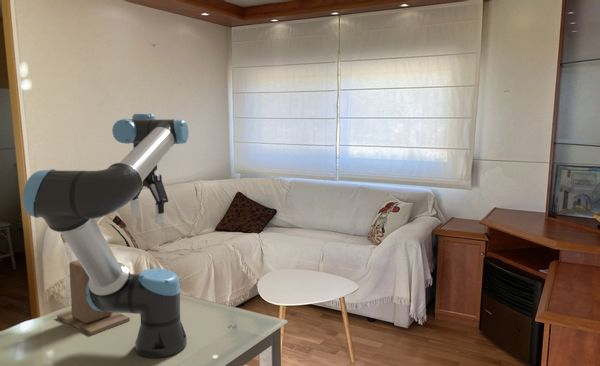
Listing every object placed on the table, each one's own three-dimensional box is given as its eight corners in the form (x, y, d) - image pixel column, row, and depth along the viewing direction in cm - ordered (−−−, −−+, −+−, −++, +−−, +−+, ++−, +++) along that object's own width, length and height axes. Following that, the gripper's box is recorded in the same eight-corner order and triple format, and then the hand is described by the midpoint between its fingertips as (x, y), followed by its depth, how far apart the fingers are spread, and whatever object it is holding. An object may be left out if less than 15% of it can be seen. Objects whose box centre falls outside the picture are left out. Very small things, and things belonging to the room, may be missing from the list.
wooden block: (86, 325, 153) (83, 267, 150) (70, 317, 159) (67, 261, 156) (113, 315, 161) (111, 260, 158) (97, 308, 167) (95, 255, 164)
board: (129, 320, 159) (129, 317, 159) (91, 335, 148) (91, 331, 148) (95, 306, 172) (94, 302, 172) (57, 318, 161) (57, 314, 161)
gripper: (178, 160, 153) (179, 223, 155) (133, 157, 167) (135, 214, 170) (159, 161, 147) (161, 226, 149) (114, 158, 161) (116, 217, 164)
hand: (147, 220), depth 160 cm, fingers open, 13 cm apart
